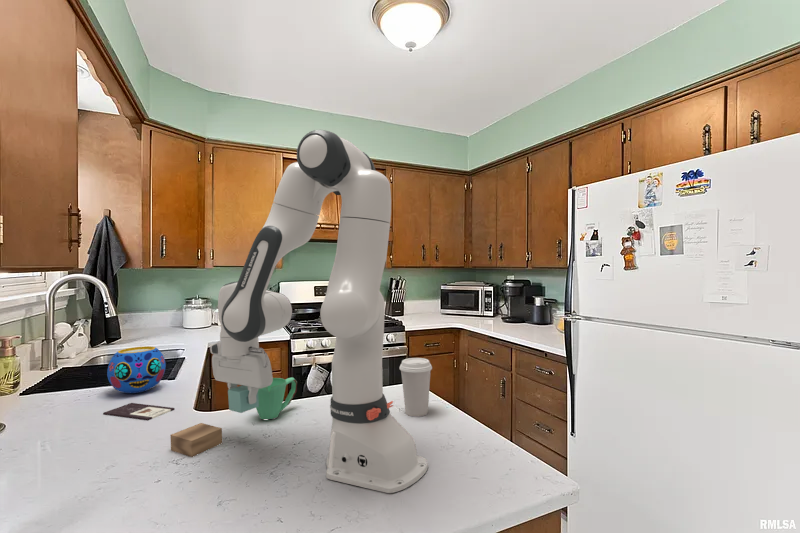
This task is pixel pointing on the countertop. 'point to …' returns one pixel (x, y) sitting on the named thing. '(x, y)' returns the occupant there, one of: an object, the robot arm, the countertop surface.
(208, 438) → the walnut slab
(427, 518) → the countertop surface
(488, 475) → the countertop surface
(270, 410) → the mug
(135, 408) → the chocolate bar
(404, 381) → the coffee cup
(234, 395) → the teal cube
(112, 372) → the ceramic pot
